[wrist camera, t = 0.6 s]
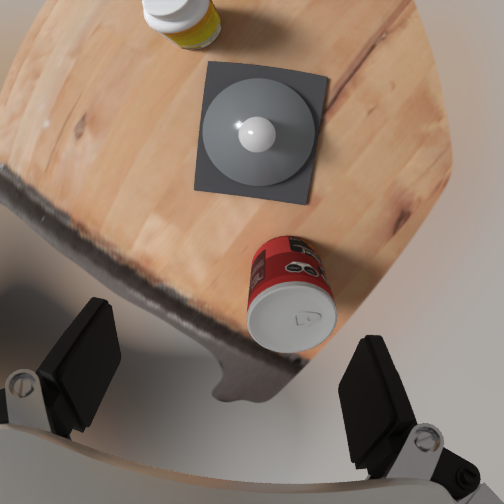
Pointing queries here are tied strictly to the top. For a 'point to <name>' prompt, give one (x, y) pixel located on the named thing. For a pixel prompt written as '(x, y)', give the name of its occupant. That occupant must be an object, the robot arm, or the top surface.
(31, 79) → the top surface
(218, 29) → the supplement bottle
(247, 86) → the lid
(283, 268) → the canned food
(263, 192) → the mat
